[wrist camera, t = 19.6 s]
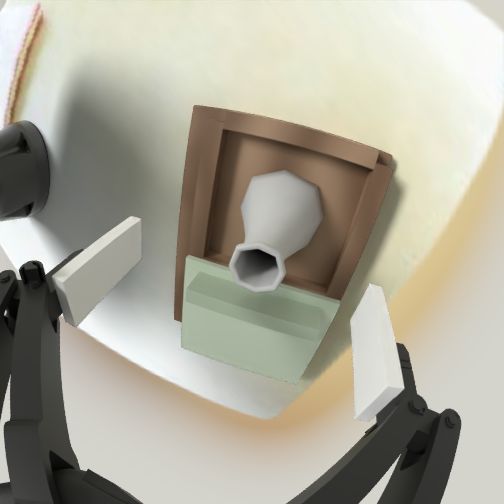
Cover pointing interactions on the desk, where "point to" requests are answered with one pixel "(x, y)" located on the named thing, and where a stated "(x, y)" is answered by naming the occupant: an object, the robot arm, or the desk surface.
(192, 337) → the cover
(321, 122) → the desk surface
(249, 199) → the flask
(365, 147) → the tray
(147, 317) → the desk surface
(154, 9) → the desk surface
